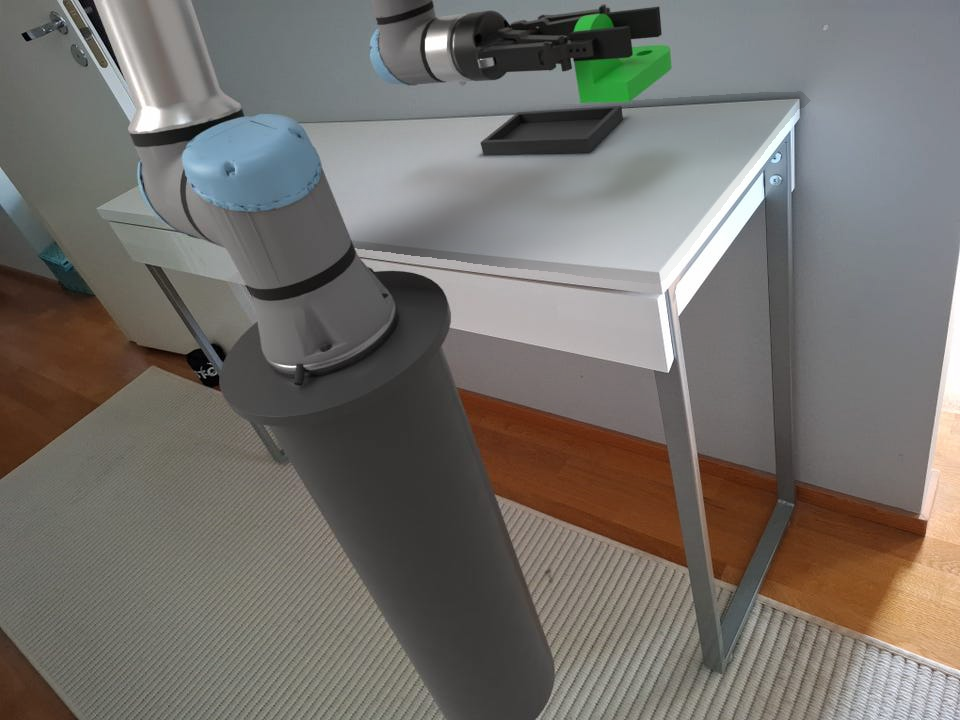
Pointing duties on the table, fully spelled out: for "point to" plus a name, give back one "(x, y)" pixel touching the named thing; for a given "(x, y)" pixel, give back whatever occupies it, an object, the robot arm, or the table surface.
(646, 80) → the mechanical part
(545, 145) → the parts tray
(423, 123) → the table surface
